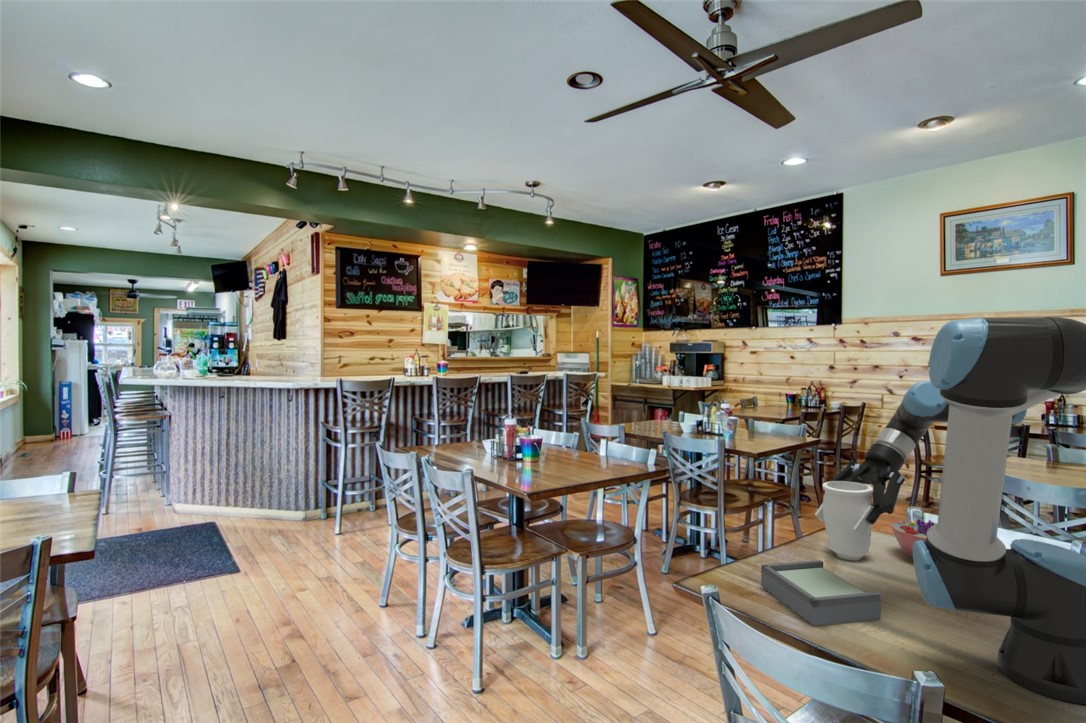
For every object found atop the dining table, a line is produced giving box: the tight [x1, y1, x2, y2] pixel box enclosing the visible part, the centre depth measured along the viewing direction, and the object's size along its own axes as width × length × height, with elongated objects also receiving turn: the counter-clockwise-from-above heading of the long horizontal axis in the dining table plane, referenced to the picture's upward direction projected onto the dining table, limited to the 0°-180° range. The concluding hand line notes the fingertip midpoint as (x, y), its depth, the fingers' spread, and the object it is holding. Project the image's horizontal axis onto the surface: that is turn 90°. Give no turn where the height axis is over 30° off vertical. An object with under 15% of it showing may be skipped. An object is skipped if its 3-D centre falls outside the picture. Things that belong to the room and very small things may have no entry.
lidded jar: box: [827, 534, 872, 561], centre depth 160 cm, size 11×11×9 cm
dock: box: [760, 559, 882, 627], centre depth 132 cm, size 20×16×6 cm
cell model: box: [890, 518, 938, 558], centre depth 156 cm, size 17×20×11 cm
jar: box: [822, 480, 874, 556], centre depth 133 cm, size 11×10×15 cm
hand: (837, 525), depth 132 cm, fingers closed on jar, 10 cm apart
